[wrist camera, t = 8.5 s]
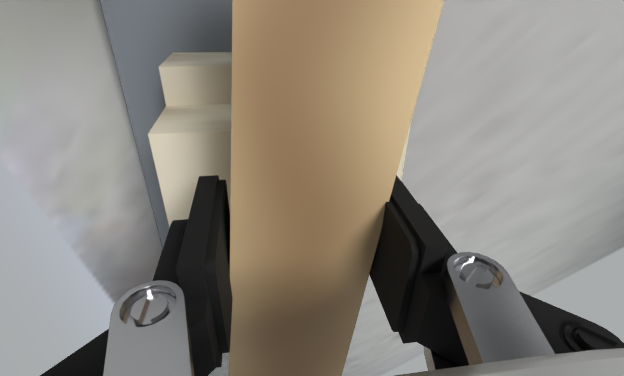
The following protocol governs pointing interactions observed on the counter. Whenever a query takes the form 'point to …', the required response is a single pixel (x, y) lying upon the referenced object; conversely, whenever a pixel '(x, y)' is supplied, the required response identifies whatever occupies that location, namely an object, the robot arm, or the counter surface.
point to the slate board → (159, 62)
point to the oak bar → (314, 168)
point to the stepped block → (196, 127)
